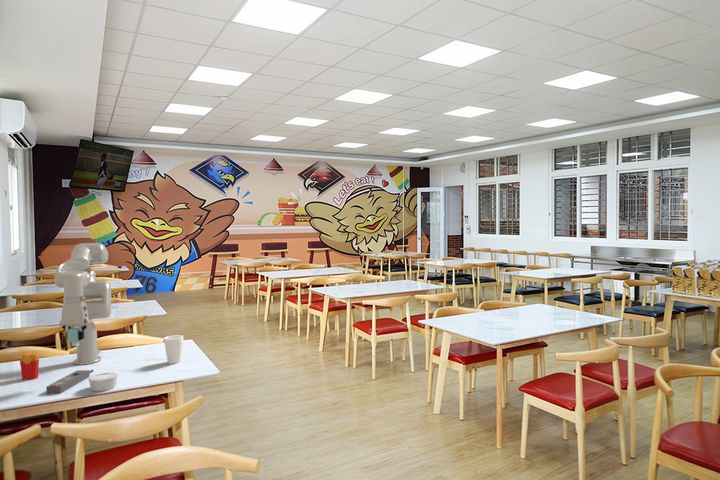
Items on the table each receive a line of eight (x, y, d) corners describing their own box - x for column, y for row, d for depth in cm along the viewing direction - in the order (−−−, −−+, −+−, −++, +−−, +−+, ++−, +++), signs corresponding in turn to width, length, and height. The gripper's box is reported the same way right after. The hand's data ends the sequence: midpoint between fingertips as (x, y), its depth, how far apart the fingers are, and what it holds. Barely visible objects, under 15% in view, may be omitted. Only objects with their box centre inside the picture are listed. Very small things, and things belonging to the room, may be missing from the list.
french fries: (18, 379, 221) (17, 354, 220) (25, 376, 225) (24, 351, 224) (36, 379, 220) (34, 354, 220) (42, 377, 224) (41, 351, 224)
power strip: (86, 371, 232) (86, 364, 232) (98, 371, 232) (98, 363, 232) (46, 393, 202) (46, 385, 202) (60, 393, 202) (60, 385, 202)
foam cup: (183, 363, 242) (183, 338, 242) (164, 365, 239) (163, 340, 239) (184, 358, 251) (183, 334, 251) (165, 360, 248) (164, 336, 248)
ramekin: (111, 382, 216) (111, 370, 216) (122, 387, 209) (122, 375, 209) (84, 388, 207) (84, 377, 207) (95, 394, 200) (94, 382, 200)
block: (73, 344, 219) (73, 327, 219) (83, 344, 219) (82, 327, 219) (67, 347, 214) (67, 329, 214) (77, 346, 214) (77, 329, 214)
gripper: (97, 298, 220) (98, 337, 220) (60, 299, 220) (62, 338, 220) (87, 301, 212) (89, 341, 213) (50, 301, 212) (51, 342, 213)
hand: (75, 339), depth 216 cm, fingers closed on block, 4 cm apart
